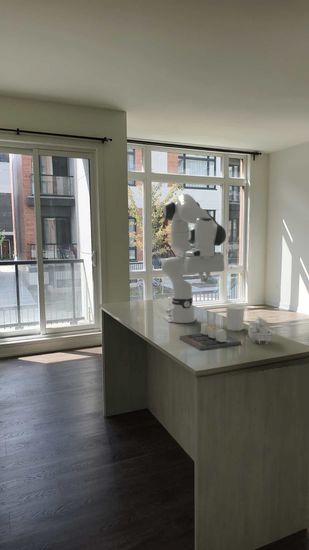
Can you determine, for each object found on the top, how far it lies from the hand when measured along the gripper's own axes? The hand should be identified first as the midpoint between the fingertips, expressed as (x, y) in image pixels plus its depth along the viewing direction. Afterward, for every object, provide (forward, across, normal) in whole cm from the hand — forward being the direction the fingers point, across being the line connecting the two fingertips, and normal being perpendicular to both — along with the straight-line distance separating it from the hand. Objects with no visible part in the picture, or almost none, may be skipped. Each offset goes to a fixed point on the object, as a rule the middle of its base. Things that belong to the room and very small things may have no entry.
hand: (204, 281), depth 166 cm
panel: (+29, -3, 0) cm, 29 cm away
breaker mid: (+27, -5, 0) cm, 28 cm away
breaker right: (+27, -5, +7) cm, 28 cm away
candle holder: (+29, -29, -16) cm, 44 cm away
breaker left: (+27, -5, -7) cm, 28 cm away
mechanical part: (+29, -25, +11) cm, 40 cm away
